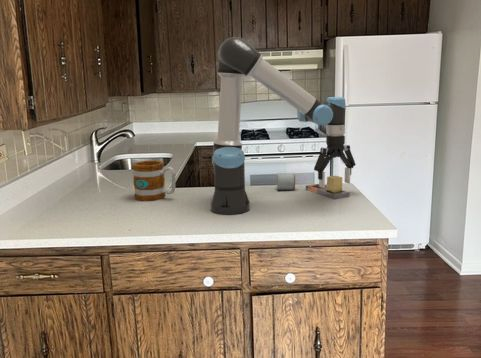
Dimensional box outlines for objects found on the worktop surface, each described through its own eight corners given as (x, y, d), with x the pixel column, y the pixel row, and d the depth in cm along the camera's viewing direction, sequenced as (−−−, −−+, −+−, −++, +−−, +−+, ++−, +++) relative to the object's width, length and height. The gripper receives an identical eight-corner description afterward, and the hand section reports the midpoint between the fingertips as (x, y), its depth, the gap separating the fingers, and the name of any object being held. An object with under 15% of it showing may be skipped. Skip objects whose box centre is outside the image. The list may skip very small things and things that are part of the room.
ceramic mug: (295, 191, 206) (295, 174, 205) (277, 191, 207) (277, 174, 205) (293, 186, 217) (294, 170, 215) (276, 186, 217) (276, 170, 216)
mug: (128, 200, 198) (125, 165, 195) (145, 192, 210) (143, 159, 207) (168, 203, 191) (166, 167, 187) (184, 195, 203) (182, 162, 200)
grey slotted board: (334, 199, 192) (334, 194, 191) (305, 189, 209) (305, 185, 208) (349, 196, 195) (349, 191, 195) (320, 187, 212) (320, 183, 212)
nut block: (333, 197, 195) (333, 178, 193) (326, 195, 199) (327, 176, 197) (341, 195, 197) (342, 177, 195) (335, 193, 201) (335, 175, 199)
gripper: (316, 138, 183) (316, 190, 188) (364, 133, 195) (363, 182, 199) (305, 136, 190) (305, 187, 194) (352, 131, 201) (351, 179, 206)
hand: (334, 185), depth 197 cm, fingers open, 13 cm apart
